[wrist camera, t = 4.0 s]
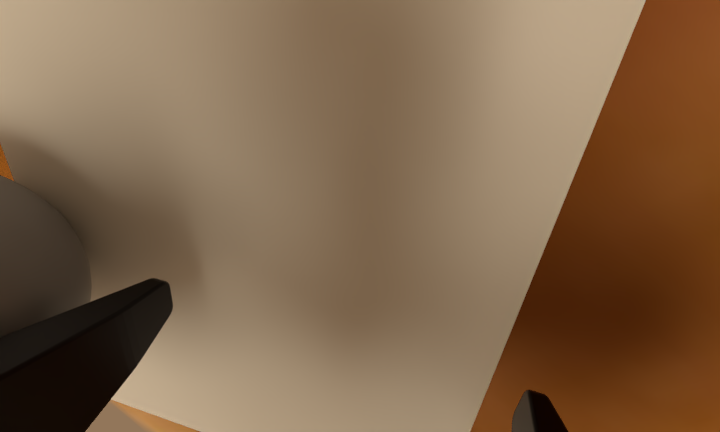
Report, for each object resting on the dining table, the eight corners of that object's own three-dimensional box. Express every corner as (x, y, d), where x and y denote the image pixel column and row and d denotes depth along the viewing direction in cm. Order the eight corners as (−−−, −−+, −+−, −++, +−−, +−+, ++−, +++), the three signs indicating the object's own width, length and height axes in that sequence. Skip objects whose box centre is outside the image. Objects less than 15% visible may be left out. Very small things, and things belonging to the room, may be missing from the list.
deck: (443, 446, 16) (435, 516, 14) (-35, 290, 21) (-95, 325, 18) (611, -20, 8) (654, -21, 6) (-244, -115, 12) (-394, -135, 10)
